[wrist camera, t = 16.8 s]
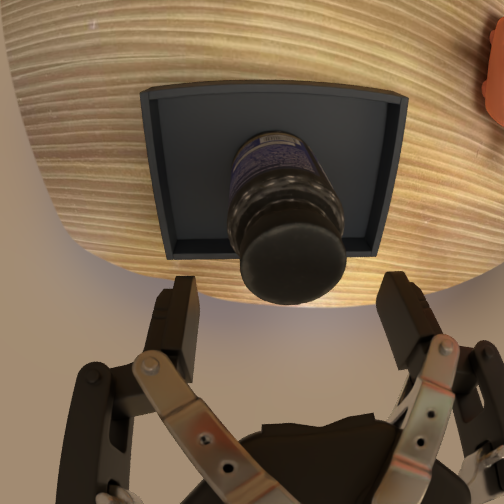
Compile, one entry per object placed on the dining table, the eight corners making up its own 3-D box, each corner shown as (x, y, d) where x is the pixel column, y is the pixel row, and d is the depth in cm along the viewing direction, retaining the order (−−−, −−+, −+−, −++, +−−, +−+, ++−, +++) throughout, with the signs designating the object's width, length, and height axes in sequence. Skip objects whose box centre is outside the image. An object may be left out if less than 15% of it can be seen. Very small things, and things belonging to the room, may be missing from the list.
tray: (172, 241, 26) (166, 260, 24) (150, 86, 18) (139, 92, 16) (367, 238, 27) (376, 257, 25) (393, 91, 19) (409, 97, 16)
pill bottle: (216, 179, 22) (195, 283, 14) (264, 111, 19) (279, 176, 11) (283, 218, 25) (302, 330, 16) (333, 160, 22) (389, 253, 13)
